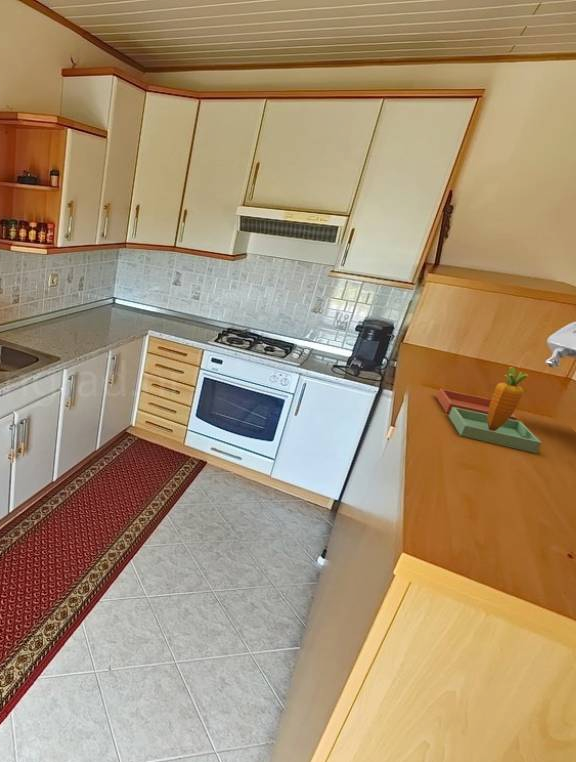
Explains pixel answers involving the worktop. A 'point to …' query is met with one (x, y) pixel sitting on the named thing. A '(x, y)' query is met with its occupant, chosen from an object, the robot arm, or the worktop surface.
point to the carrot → (505, 400)
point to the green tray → (506, 435)
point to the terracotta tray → (464, 402)
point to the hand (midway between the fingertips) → (570, 371)
